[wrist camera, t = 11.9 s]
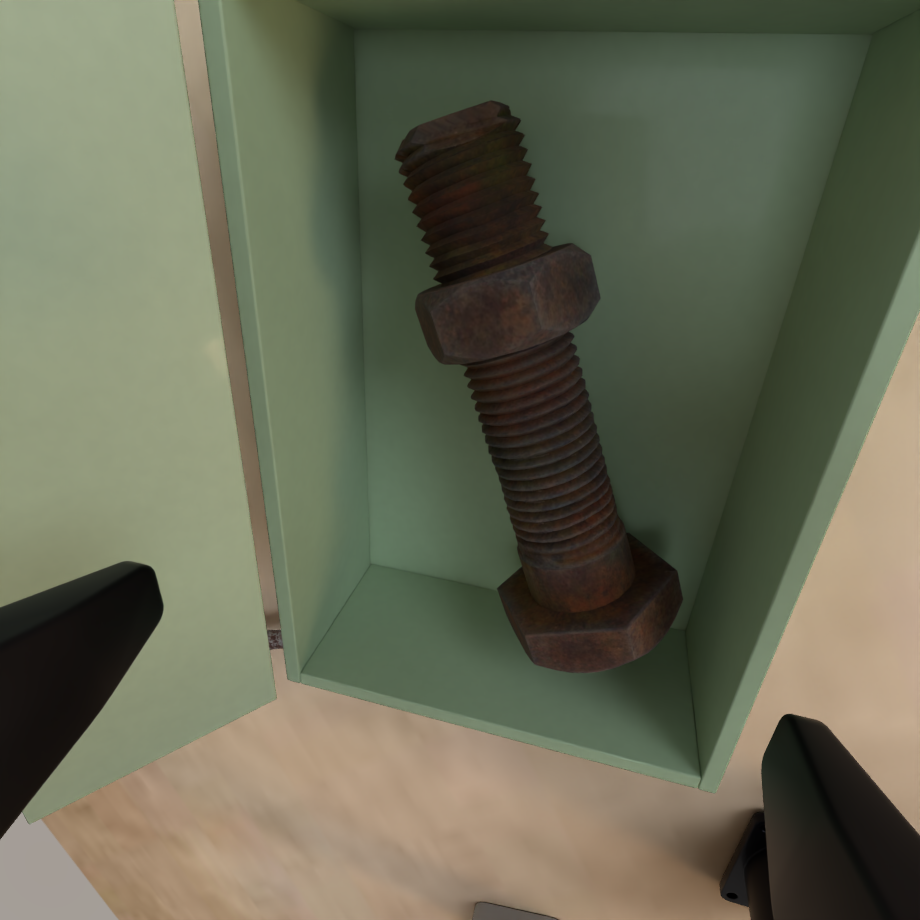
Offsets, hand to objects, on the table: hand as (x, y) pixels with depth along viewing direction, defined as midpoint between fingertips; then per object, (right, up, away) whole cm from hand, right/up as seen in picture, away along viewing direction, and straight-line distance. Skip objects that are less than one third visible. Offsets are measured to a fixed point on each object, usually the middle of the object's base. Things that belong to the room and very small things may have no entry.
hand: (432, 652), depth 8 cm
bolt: (+3, +5, +11) cm, 12 cm away
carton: (+3, +6, +11) cm, 13 cm away
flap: (-8, +3, +4) cm, 9 cm away
